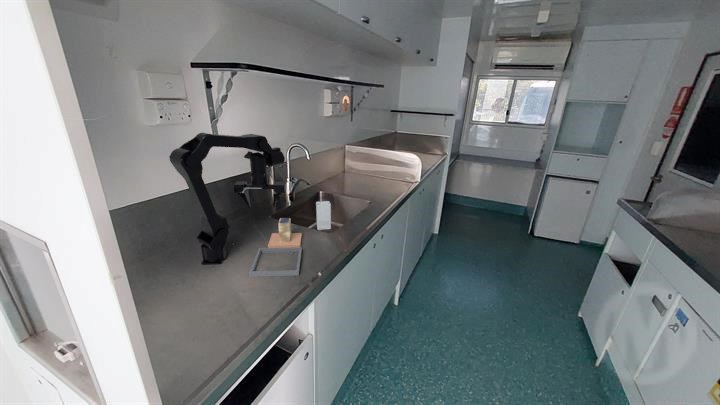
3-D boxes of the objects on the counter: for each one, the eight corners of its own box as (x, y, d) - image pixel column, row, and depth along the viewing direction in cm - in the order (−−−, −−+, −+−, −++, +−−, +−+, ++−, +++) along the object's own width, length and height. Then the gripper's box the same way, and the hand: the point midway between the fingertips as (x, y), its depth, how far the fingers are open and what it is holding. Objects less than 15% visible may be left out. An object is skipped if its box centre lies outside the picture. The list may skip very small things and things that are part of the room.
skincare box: (329, 225, 131) (329, 200, 126) (331, 229, 127) (331, 204, 122) (316, 226, 129) (315, 200, 125) (317, 230, 125) (316, 204, 121)
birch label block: (279, 242, 112) (278, 223, 109) (281, 236, 116) (280, 217, 113) (289, 242, 112) (289, 223, 109) (291, 235, 117) (290, 217, 114)
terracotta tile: (268, 248, 110) (267, 245, 109) (272, 235, 119) (272, 233, 118) (300, 247, 111) (300, 245, 111) (301, 235, 120) (301, 232, 120)
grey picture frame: (249, 276, 93) (248, 272, 92) (259, 251, 107) (258, 248, 107) (298, 275, 95) (298, 271, 94) (301, 250, 109) (301, 247, 109)
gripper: (287, 164, 116) (288, 200, 121) (238, 163, 113) (242, 200, 119) (283, 171, 105) (285, 210, 111) (230, 170, 103) (234, 210, 109)
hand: (262, 207), depth 113 cm, fingers open, 9 cm apart
